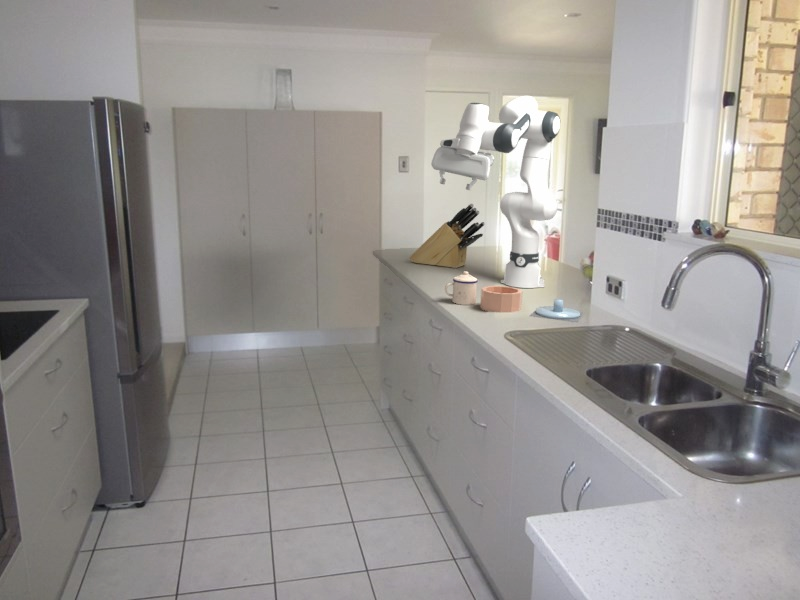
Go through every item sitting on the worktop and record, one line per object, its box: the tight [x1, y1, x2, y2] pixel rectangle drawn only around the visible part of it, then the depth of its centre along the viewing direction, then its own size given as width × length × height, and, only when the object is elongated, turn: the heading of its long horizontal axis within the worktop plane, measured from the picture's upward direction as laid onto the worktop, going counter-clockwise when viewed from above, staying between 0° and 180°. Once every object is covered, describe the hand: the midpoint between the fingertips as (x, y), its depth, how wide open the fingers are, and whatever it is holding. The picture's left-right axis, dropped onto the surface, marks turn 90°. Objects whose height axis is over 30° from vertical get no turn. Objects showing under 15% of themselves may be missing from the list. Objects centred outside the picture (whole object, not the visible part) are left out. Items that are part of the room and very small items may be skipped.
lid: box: [535, 298, 581, 320], centre depth 224 cm, size 15×15×5 cm
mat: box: [529, 309, 585, 323], centre depth 225 cm, size 16×16×1 cm
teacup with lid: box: [444, 270, 478, 306], centre depth 239 cm, size 12×9×12 cm
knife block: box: [409, 203, 486, 269], centre depth 316 cm, size 11×35×31 cm, turn 61°
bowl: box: [479, 285, 524, 313], centre depth 231 cm, size 14×14×7 cm
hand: (454, 186), depth 222 cm, fingers open, 8 cm apart
